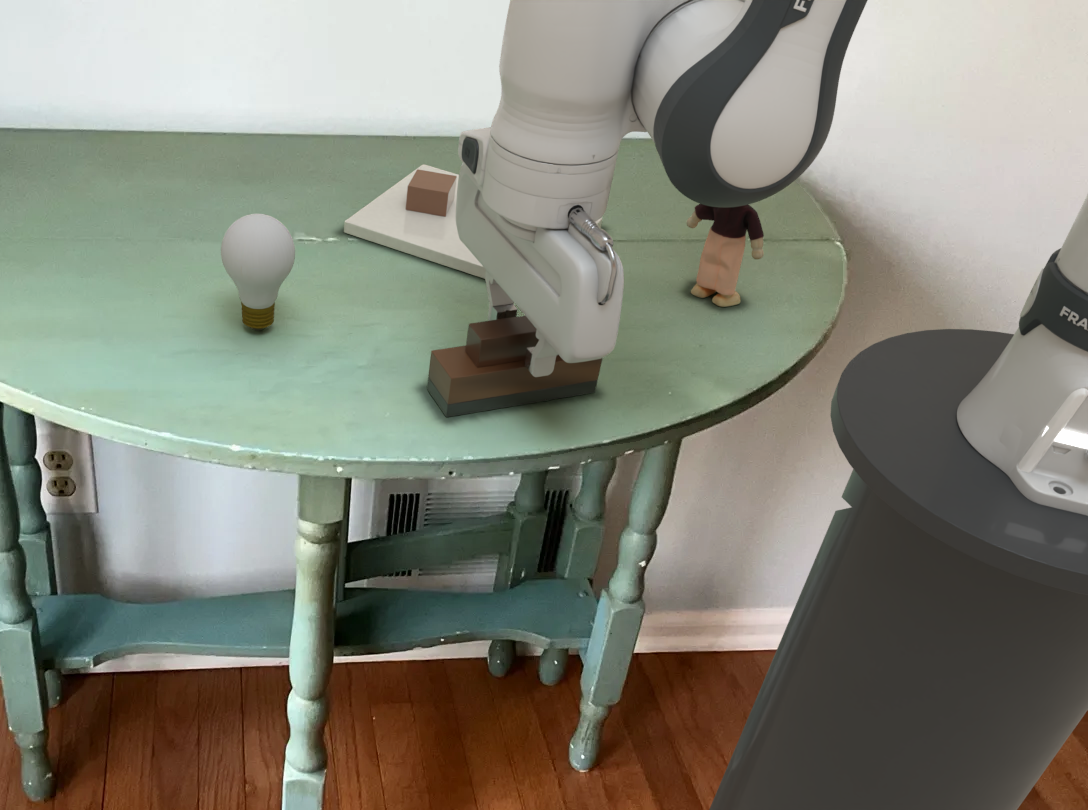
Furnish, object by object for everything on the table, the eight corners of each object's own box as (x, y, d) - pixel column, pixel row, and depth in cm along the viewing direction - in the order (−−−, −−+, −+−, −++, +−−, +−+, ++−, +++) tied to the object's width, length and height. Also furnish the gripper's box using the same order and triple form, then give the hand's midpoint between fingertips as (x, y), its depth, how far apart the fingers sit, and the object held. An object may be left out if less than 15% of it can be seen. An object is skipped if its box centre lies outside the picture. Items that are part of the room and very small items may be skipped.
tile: (600, 228, 117) (603, 217, 116) (535, 296, 106) (537, 284, 105) (421, 174, 124) (423, 163, 123) (343, 232, 113) (344, 221, 112)
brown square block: (454, 199, 117) (456, 175, 115) (445, 217, 114) (448, 192, 112) (414, 192, 118) (416, 168, 116) (405, 210, 115) (407, 185, 113)
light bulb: (304, 320, 101) (308, 210, 94) (274, 354, 96) (276, 241, 90) (242, 304, 102) (241, 194, 95) (209, 336, 98) (206, 224, 91)
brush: (572, 366, 98) (585, 300, 94) (595, 392, 95) (610, 326, 91) (426, 389, 94) (434, 322, 90) (446, 417, 91) (454, 349, 87)
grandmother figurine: (756, 299, 108) (798, 166, 100) (742, 316, 106) (784, 181, 97) (678, 272, 111) (712, 140, 103) (662, 288, 109) (696, 154, 100)
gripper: (663, 242, 77) (620, 417, 86) (525, 118, 91) (501, 279, 100) (576, 253, 75) (541, 431, 84) (449, 124, 89) (431, 288, 98)
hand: (518, 347), depth 92 cm, fingers open, 5 cm apart
